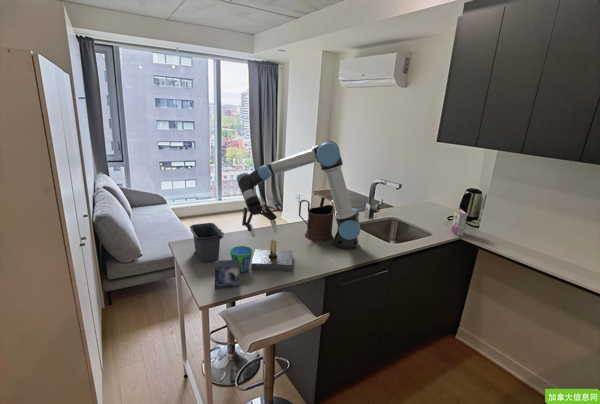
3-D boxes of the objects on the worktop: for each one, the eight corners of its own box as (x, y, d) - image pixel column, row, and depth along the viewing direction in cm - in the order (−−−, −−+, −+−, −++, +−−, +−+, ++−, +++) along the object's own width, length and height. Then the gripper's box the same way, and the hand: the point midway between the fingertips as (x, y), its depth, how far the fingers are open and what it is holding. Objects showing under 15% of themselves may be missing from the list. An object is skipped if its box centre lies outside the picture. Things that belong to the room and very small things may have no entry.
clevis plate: (291, 256, 166) (292, 250, 165) (291, 271, 150) (292, 264, 149) (255, 255, 165) (255, 249, 164) (251, 269, 149) (251, 263, 148)
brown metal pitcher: (338, 240, 191) (342, 202, 184) (303, 244, 182) (305, 204, 175) (325, 230, 208) (328, 194, 201) (292, 233, 199) (294, 196, 192)
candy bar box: (450, 230, 222) (454, 208, 218) (457, 231, 222) (462, 209, 217) (455, 235, 212) (460, 213, 207) (463, 236, 211) (468, 214, 207)
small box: (214, 289, 131) (214, 267, 128) (214, 281, 137) (214, 260, 134) (239, 287, 134) (239, 265, 131) (238, 279, 140) (238, 259, 137)
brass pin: (275, 261, 159) (276, 240, 156) (275, 264, 156) (276, 242, 153) (269, 261, 159) (270, 240, 156) (269, 264, 156) (270, 242, 153)
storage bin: (189, 249, 167) (188, 224, 163) (217, 244, 175) (216, 221, 171) (198, 266, 150) (197, 239, 146) (228, 260, 158) (228, 234, 154)
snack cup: (249, 278, 142) (249, 258, 139) (226, 276, 142) (226, 257, 139) (254, 262, 157) (254, 244, 154) (233, 261, 157) (233, 243, 154)
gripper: (268, 199, 176) (281, 232, 169) (228, 205, 161) (241, 241, 154) (273, 193, 171) (287, 226, 164) (232, 198, 156) (246, 235, 149)
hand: (265, 233), depth 159 cm, fingers open, 13 cm apart
